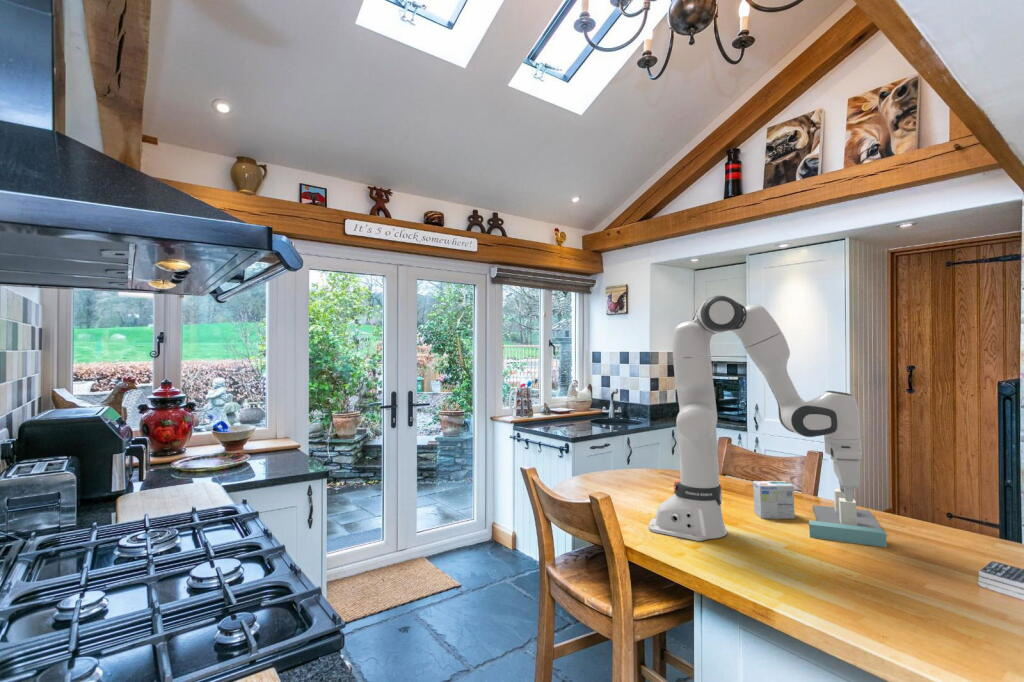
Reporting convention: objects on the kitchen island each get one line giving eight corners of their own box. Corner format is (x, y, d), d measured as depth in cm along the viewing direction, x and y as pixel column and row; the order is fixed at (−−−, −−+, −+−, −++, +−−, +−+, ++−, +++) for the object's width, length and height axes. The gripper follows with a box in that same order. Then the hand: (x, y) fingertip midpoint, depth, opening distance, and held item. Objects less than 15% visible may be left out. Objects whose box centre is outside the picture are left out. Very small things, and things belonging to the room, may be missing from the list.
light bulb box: (786, 512, 167) (785, 480, 168) (795, 519, 161) (794, 485, 161) (753, 512, 168) (751, 480, 169) (761, 519, 162) (759, 485, 162)
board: (819, 529, 151) (818, 501, 151) (812, 508, 171) (811, 484, 171) (884, 536, 144) (882, 507, 144) (869, 514, 164) (868, 488, 164)
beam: (809, 538, 145) (809, 524, 145) (809, 533, 148) (809, 520, 149) (886, 548, 136) (886, 533, 136) (884, 543, 140) (883, 529, 140)
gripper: (826, 441, 154) (829, 486, 153) (834, 453, 135) (838, 505, 135) (850, 442, 151) (853, 488, 150) (862, 454, 133) (866, 507, 132)
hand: (846, 496), depth 142 cm, fingers open, 8 cm apart
